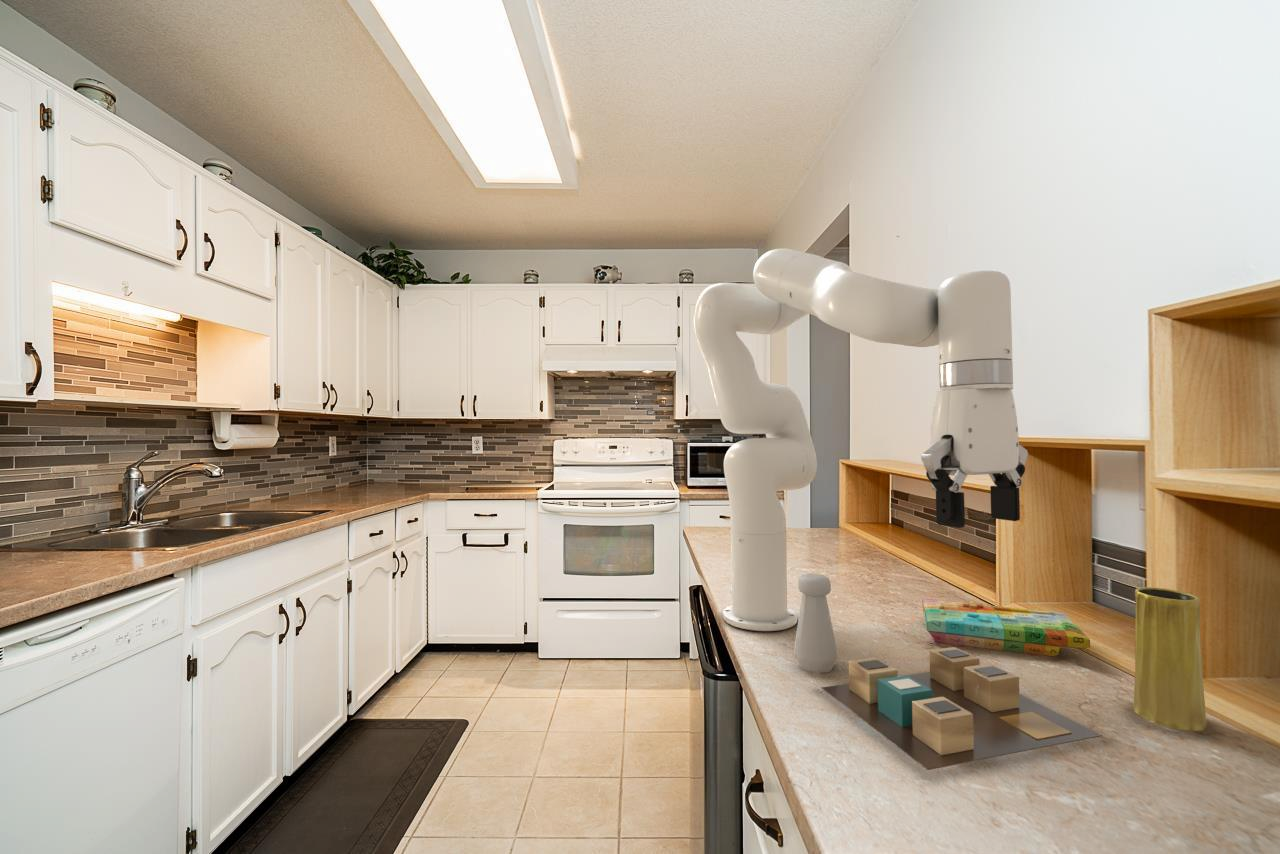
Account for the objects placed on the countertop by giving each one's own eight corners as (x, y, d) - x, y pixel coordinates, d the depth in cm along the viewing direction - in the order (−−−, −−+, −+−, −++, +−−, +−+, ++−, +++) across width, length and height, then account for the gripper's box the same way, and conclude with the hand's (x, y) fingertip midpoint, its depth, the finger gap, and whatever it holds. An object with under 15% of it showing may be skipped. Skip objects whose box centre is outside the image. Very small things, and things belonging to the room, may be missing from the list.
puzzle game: (921, 594, 96) (1064, 607, 88) (922, 622, 96) (1065, 638, 88) (926, 615, 85) (1089, 632, 78) (927, 646, 85) (1090, 667, 78)
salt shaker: (840, 665, 79) (839, 572, 79) (835, 682, 74) (834, 582, 74) (797, 658, 82) (796, 568, 82) (790, 674, 76) (789, 578, 77)
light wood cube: (849, 689, 71) (848, 659, 71) (876, 685, 72) (876, 656, 72) (869, 704, 67) (869, 672, 67) (898, 699, 68) (898, 668, 68)
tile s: (878, 710, 65) (877, 678, 65) (907, 705, 66) (906, 674, 66) (902, 727, 61) (901, 693, 61) (933, 722, 62) (932, 689, 62)
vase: (1215, 742, 59) (1212, 604, 59) (1138, 726, 62) (1135, 596, 62) (1197, 716, 64) (1195, 590, 64) (1127, 703, 67) (1125, 583, 67)
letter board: (821, 692, 71) (820, 686, 71) (964, 671, 77) (964, 666, 77) (927, 775, 54) (927, 768, 54) (1102, 741, 59) (1102, 734, 59)
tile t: (963, 696, 68) (963, 666, 68) (990, 692, 69) (989, 662, 69) (991, 712, 64) (991, 680, 64) (1019, 707, 65) (1019, 675, 65)
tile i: (929, 677, 74) (929, 649, 74) (954, 674, 75) (954, 645, 75) (953, 691, 70) (953, 661, 70) (980, 687, 71) (979, 657, 71)
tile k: (912, 735, 60) (911, 700, 60) (943, 729, 61) (943, 695, 61) (941, 755, 56) (940, 718, 56) (974, 749, 57) (973, 712, 57)
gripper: (992, 383, 74) (995, 513, 74) (896, 380, 67) (899, 524, 67) (1053, 377, 67) (1057, 521, 67) (954, 373, 60) (958, 534, 60)
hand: (978, 522), depth 67 cm, fingers open, 9 cm apart
